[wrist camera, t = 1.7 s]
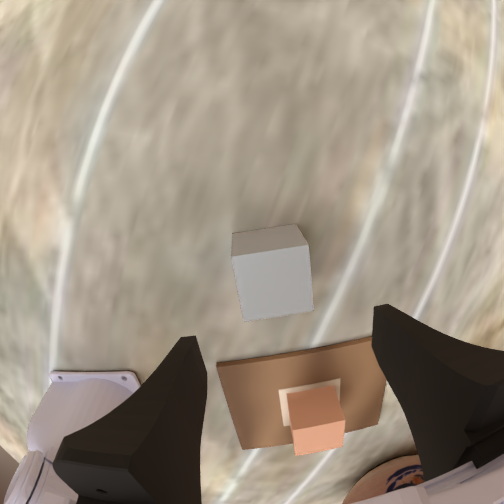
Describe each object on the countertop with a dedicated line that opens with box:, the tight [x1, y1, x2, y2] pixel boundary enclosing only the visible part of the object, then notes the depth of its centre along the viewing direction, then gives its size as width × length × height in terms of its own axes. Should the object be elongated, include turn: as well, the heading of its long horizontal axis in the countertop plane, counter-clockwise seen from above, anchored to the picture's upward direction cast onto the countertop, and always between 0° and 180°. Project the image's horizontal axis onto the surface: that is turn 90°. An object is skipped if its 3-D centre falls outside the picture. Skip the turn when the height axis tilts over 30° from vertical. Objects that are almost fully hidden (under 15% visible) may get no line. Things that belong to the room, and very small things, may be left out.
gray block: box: [231, 224, 314, 322], centre depth 19 cm, size 4×4×4 cm
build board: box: [216, 336, 386, 450], centre depth 25 cm, size 14×12×1 cm
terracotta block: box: [286, 385, 345, 456], centre depth 23 cm, size 4×4×4 cm
